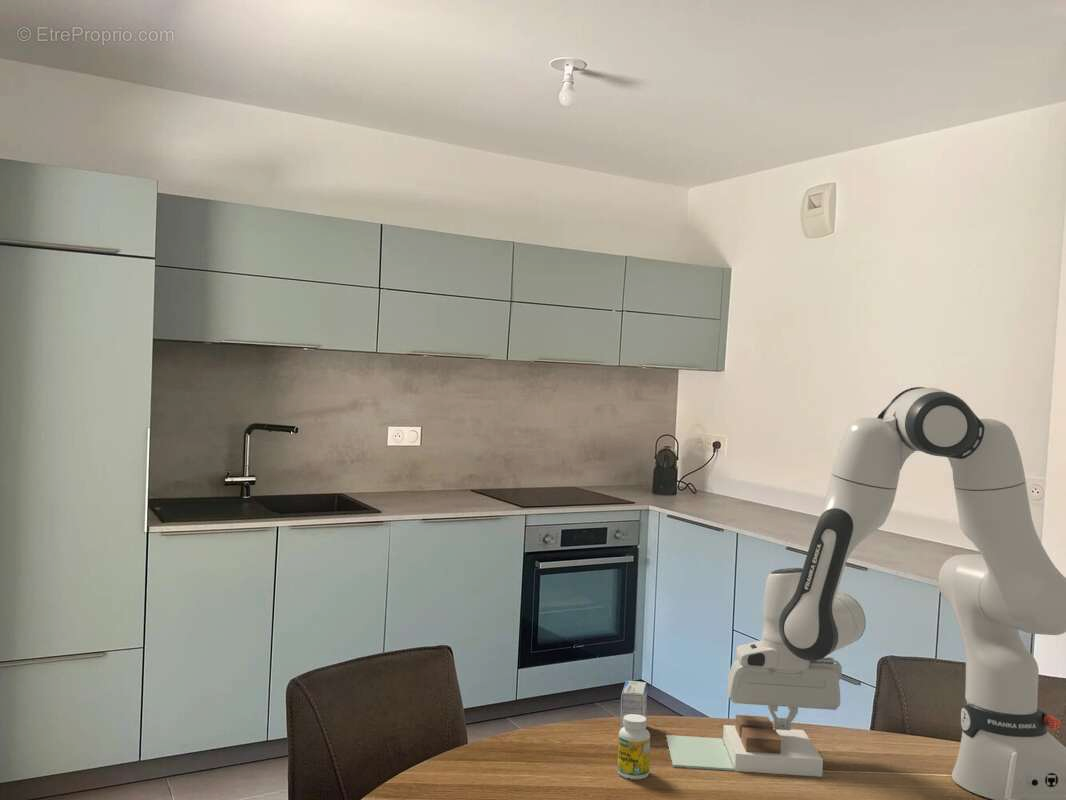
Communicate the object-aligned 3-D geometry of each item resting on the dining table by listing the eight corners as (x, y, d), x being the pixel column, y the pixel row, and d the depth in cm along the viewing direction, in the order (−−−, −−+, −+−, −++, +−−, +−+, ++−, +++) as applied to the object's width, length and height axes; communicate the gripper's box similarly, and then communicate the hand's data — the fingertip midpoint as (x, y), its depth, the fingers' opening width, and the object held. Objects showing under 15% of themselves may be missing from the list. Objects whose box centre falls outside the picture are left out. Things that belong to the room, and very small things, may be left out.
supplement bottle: (653, 772, 153) (656, 717, 153) (640, 783, 149) (642, 726, 149) (626, 764, 156) (628, 710, 156) (611, 774, 152) (614, 718, 152)
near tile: (774, 743, 161) (775, 729, 161) (780, 754, 156) (781, 739, 156) (741, 741, 161) (741, 727, 161) (746, 751, 156) (746, 737, 156)
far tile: (767, 730, 168) (767, 716, 168) (772, 740, 163) (773, 726, 163) (735, 728, 168) (735, 714, 168) (739, 737, 163) (740, 724, 163)
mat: (721, 740, 169) (721, 738, 169) (733, 770, 155) (734, 768, 155) (665, 737, 170) (666, 734, 170) (672, 766, 156) (673, 764, 156)
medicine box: (642, 740, 168) (644, 694, 168) (619, 737, 169) (621, 691, 169) (645, 725, 176) (647, 681, 176) (623, 723, 177) (625, 679, 177)
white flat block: (802, 745, 168) (803, 730, 168) (822, 776, 154) (823, 759, 154) (722, 740, 169) (723, 724, 169) (735, 770, 155) (735, 753, 155)
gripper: (837, 653, 167) (834, 726, 167) (727, 646, 169) (724, 719, 169) (847, 663, 161) (843, 739, 161) (733, 655, 162) (729, 731, 162)
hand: (781, 729), depth 165 cm, fingers closed
